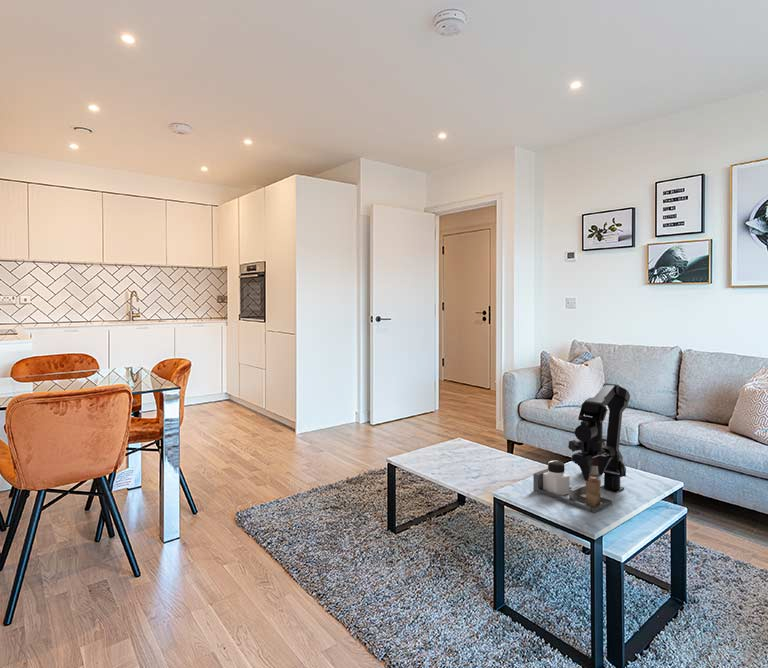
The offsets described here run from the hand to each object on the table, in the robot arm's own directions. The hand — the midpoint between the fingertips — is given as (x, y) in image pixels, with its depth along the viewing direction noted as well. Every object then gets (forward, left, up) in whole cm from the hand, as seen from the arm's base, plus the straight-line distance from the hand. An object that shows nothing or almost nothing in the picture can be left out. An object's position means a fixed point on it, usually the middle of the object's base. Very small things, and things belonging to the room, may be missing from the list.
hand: (593, 477), depth 177 cm
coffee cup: (-31, -19, -10) cm, 38 cm away
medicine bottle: (0, -15, -10) cm, 19 cm away
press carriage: (0, -3, -10) cm, 10 cm away
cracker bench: (0, -9, -10) cm, 13 cm away
